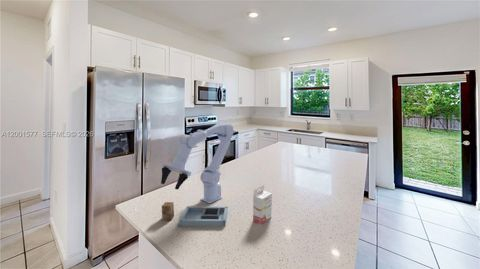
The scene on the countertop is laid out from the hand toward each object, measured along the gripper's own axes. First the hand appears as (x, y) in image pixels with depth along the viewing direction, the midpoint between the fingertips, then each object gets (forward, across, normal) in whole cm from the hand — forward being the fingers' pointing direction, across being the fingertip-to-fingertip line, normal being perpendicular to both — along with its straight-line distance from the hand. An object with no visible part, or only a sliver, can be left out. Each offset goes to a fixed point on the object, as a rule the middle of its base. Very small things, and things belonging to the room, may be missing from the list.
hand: (169, 186), depth 96 cm
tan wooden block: (+14, +3, +6) cm, 15 cm away
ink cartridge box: (0, +44, +12) cm, 46 cm away
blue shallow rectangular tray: (+8, +19, +8) cm, 22 cm away
